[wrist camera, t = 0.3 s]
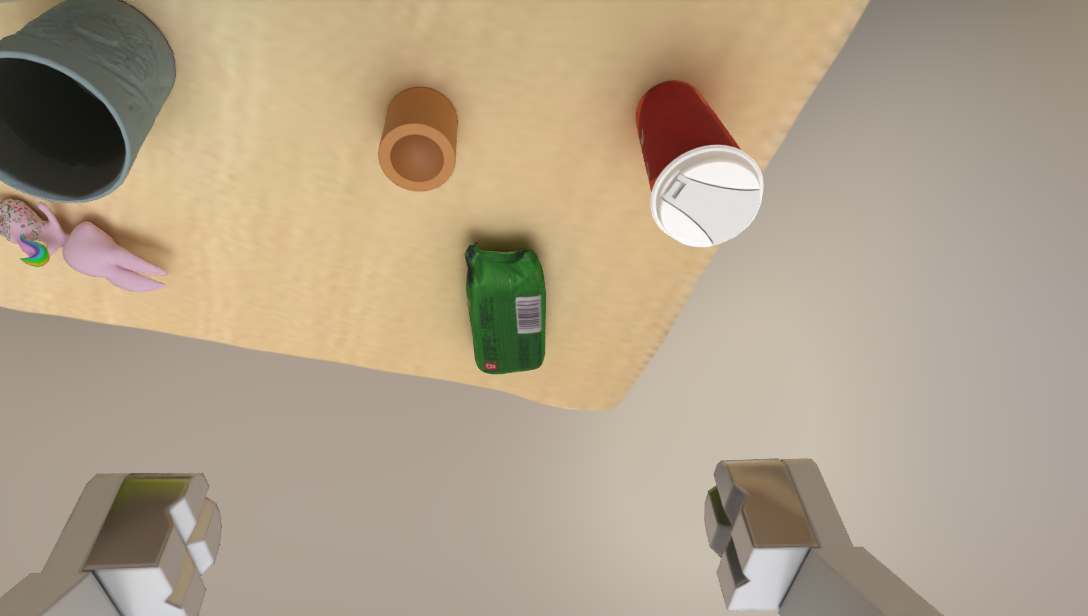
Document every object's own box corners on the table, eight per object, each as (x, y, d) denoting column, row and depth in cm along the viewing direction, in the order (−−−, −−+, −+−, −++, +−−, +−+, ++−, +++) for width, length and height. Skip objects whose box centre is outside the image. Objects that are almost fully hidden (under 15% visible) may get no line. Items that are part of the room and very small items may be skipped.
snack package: (543, 225, 65) (546, 259, 61) (544, 351, 75) (547, 387, 71) (464, 228, 65) (462, 262, 61) (475, 354, 75) (475, 391, 71)
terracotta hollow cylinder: (383, 86, 56) (373, 127, 50) (456, 87, 56) (454, 129, 51) (390, 151, 59) (380, 197, 54) (458, 152, 60) (456, 197, 55)
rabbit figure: (-3, 223, 63) (170, 294, 66) (-54, 259, 58) (135, 334, 61) (0, 165, 59) (181, 243, 62) (-55, 198, 55) (145, 281, 58)
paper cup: (604, 132, 59) (631, 228, 49) (657, 50, 55) (699, 135, 45) (681, 170, 62) (722, 268, 52) (737, 94, 58) (794, 184, 47)
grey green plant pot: (136, -33, 49) (58, 31, 40) (216, 102, 56) (164, 183, 47) (4, 8, 50) (-101, 79, 41) (97, 136, 57) (24, 221, 48)
